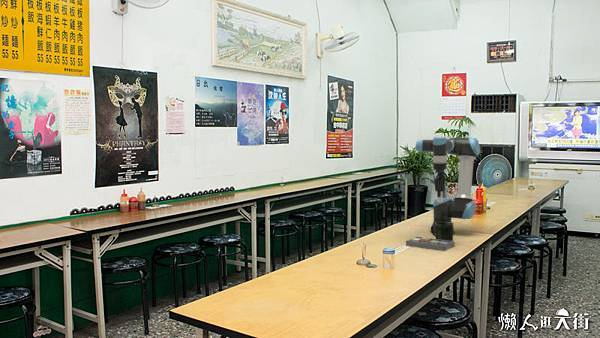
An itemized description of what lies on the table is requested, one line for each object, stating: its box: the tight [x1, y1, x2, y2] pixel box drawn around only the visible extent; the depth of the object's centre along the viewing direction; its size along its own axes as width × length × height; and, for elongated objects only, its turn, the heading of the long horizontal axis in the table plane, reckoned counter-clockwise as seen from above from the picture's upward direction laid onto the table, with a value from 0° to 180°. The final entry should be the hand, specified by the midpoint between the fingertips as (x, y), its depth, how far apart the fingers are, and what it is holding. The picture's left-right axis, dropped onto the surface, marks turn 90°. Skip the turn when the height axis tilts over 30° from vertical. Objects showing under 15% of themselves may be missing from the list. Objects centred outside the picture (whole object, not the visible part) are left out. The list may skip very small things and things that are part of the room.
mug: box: [430, 221, 454, 241], centre depth 321 cm, size 11×15×12 cm
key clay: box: [420, 236, 432, 243], centre depth 309 cm, size 4×4×2 cm
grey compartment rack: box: [405, 236, 455, 252], centre depth 307 cm, size 14×24×4 cm, turn 50°
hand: (439, 202), depth 309 cm, fingers closed
